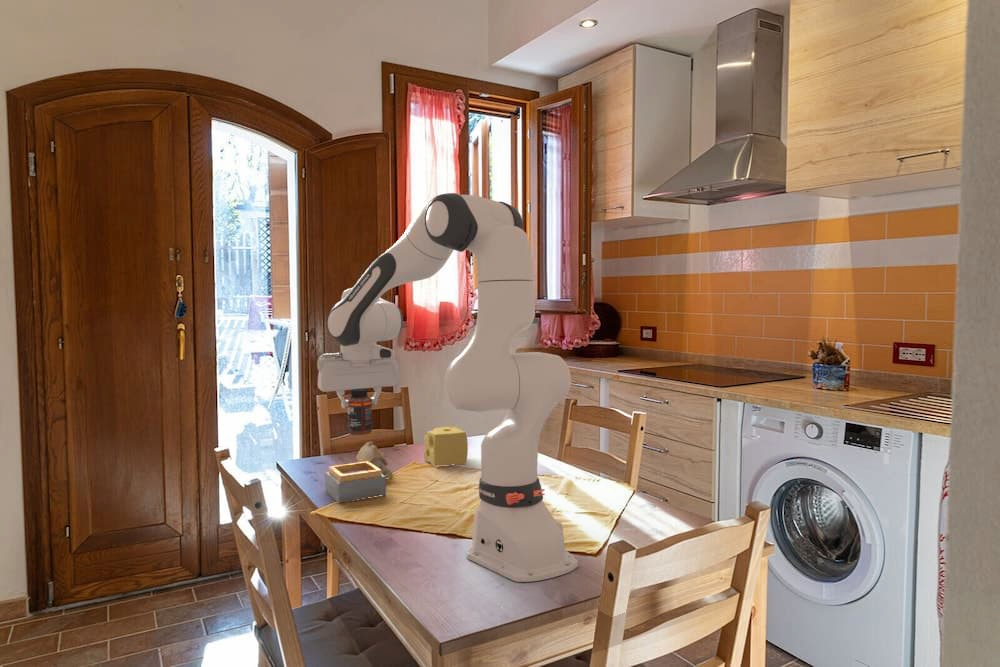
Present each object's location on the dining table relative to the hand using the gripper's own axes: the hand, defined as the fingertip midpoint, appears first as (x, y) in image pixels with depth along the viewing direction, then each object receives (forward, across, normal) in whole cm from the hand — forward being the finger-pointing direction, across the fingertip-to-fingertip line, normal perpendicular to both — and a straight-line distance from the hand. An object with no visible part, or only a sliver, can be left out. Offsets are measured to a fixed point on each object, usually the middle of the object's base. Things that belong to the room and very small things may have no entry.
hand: (359, 406), depth 165 cm
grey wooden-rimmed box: (+23, -1, +1) cm, 23 cm away
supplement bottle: (+7, 0, 0) cm, 7 cm away
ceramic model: (+23, +7, +14) cm, 28 cm away
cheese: (+24, +32, +17) cm, 43 cm away
